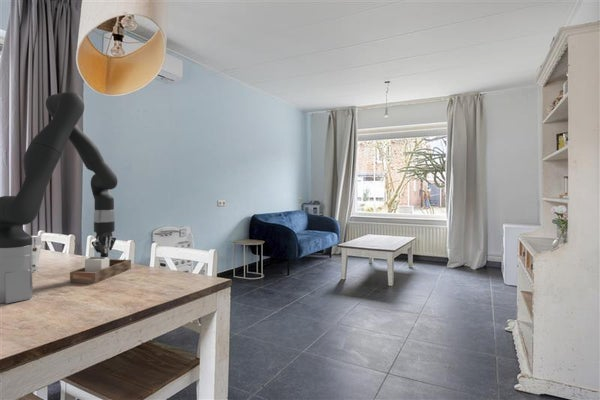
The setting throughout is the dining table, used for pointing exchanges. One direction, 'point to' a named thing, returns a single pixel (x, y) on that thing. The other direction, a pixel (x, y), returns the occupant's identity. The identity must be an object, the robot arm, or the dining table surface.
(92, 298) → the dining table surface
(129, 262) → the wooden tray
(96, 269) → the slider block
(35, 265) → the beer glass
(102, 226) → the robot arm
